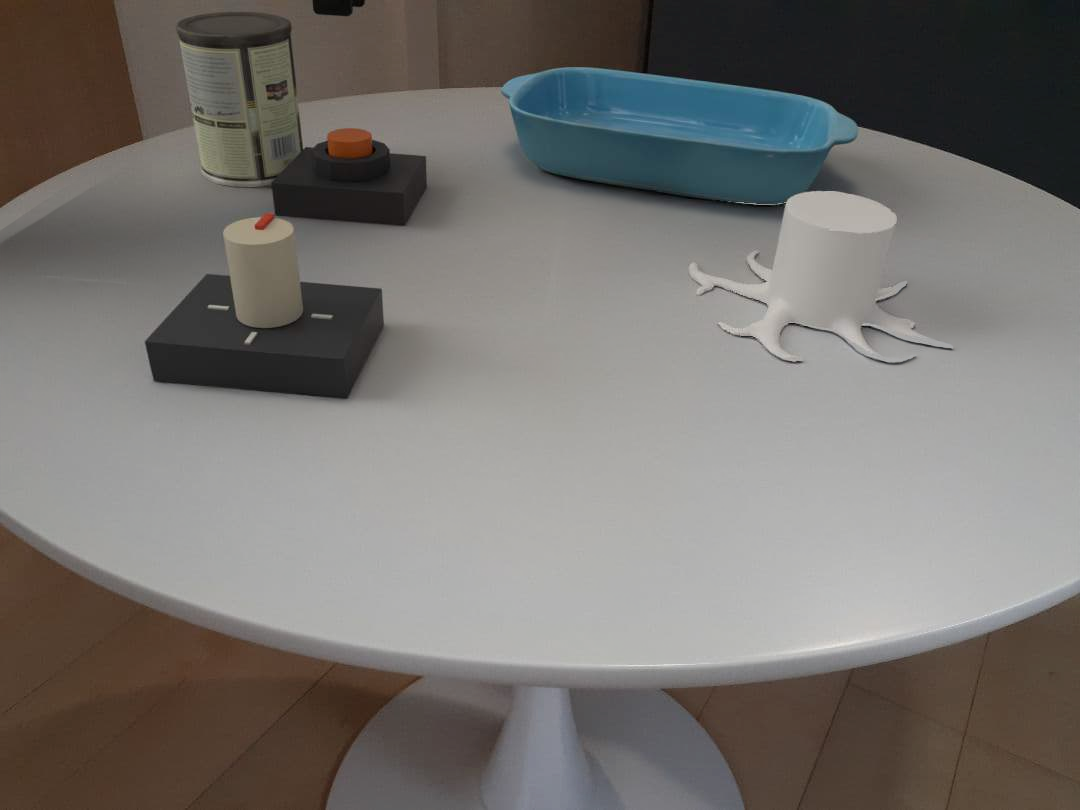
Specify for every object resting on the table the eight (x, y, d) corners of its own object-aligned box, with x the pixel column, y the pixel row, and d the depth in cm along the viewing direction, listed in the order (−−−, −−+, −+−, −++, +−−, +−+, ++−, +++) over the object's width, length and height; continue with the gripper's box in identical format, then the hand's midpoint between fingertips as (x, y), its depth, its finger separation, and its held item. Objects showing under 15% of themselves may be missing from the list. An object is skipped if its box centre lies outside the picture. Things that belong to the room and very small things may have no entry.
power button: (323, 159, 83) (321, 140, 82) (335, 145, 87) (334, 126, 86) (366, 162, 83) (365, 143, 82) (377, 148, 87) (376, 129, 86)
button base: (274, 216, 84) (268, 162, 81) (308, 178, 92) (303, 128, 89) (404, 226, 83) (402, 173, 80) (427, 187, 91) (425, 137, 89)
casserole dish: (844, 157, 104) (859, 93, 100) (842, 231, 86) (860, 157, 82) (532, 118, 112) (535, 56, 108) (471, 178, 94) (471, 107, 90)
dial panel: (153, 380, 61) (143, 339, 59) (213, 309, 69) (206, 271, 67) (347, 398, 60) (343, 356, 58) (384, 324, 68) (381, 286, 66)
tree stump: (920, 267, 80) (947, 178, 76) (967, 384, 64) (1005, 280, 60) (690, 243, 83) (703, 154, 78) (681, 349, 67) (697, 246, 62)
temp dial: (290, 331, 61) (279, 242, 57) (226, 325, 61) (210, 236, 57) (311, 300, 64) (302, 215, 61) (250, 295, 65) (238, 210, 61)
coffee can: (226, 149, 98) (205, 7, 90) (320, 158, 97) (307, 15, 89) (181, 183, 90) (154, 30, 82) (283, 192, 88) (265, 38, 81)
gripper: (305, -255, 75) (325, -10, 85) (228, -265, 61) (263, 27, 71) (396, -250, 74) (405, -5, 85) (339, -259, 61) (358, 34, 71)
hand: (339, 7), depth 78 cm, fingers open, 3 cm apart
